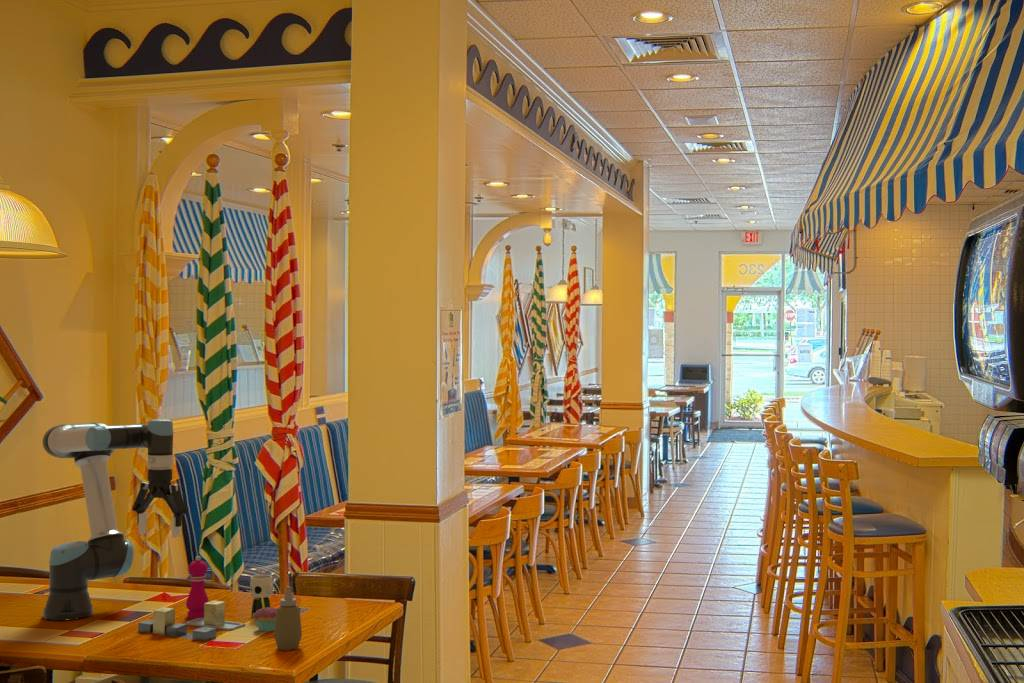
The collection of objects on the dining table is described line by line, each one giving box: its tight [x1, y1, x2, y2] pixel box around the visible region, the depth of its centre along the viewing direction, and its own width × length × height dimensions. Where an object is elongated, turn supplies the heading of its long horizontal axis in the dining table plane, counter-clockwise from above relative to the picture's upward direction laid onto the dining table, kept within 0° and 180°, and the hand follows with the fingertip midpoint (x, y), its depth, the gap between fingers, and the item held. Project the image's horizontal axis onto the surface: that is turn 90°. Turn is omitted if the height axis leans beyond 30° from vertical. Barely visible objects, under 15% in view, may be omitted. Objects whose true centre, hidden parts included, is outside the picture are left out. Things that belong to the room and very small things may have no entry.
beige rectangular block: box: [204, 600, 226, 626], centre depth 336 cm, size 4×4×7 cm
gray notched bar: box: [137, 618, 217, 642], centre depth 325 cm, size 26×5×3 cm, turn 66°
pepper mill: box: [185, 555, 210, 619], centre depth 348 cm, size 7×7×20 cm
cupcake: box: [252, 593, 277, 632], centre depth 332 cm, size 9×8×12 cm
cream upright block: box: [152, 606, 176, 636], centre depth 327 cm, size 4×4×7 cm
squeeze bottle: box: [273, 585, 303, 651], centre depth 312 cm, size 8×8×18 cm
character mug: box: [249, 574, 274, 617], centre depth 350 cm, size 11×7×13 cm, turn 53°
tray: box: [184, 617, 246, 632], centre depth 337 cm, size 18×7×1 cm, turn 66°
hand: (159, 535), depth 336 cm, fingers open, 13 cm apart
